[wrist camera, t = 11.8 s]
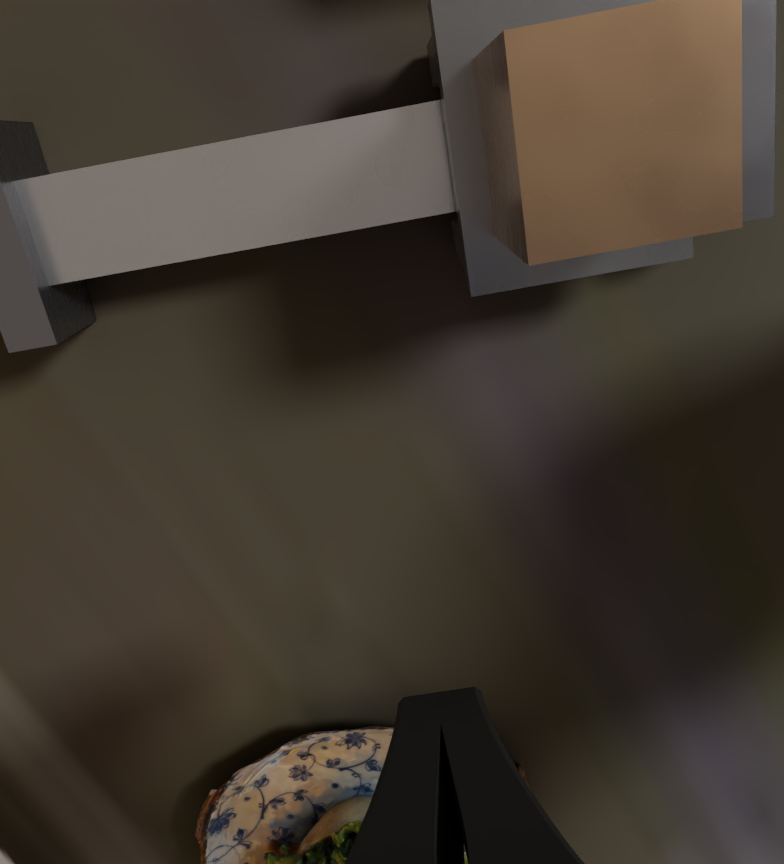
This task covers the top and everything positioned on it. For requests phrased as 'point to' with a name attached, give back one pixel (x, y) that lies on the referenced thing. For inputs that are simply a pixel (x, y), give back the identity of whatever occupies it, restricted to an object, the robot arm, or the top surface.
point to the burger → (297, 801)
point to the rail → (263, 195)
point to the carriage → (587, 132)
